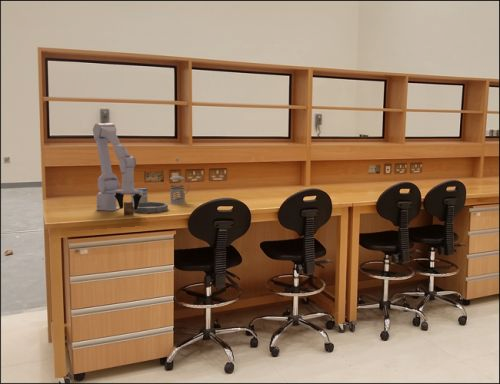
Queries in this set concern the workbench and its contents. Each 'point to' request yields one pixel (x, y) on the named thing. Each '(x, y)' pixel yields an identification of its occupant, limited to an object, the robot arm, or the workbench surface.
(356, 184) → the workbench surface
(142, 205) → the round tray
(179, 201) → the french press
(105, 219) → the workbench surface
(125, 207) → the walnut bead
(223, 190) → the workbench surface
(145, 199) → the medicine box
